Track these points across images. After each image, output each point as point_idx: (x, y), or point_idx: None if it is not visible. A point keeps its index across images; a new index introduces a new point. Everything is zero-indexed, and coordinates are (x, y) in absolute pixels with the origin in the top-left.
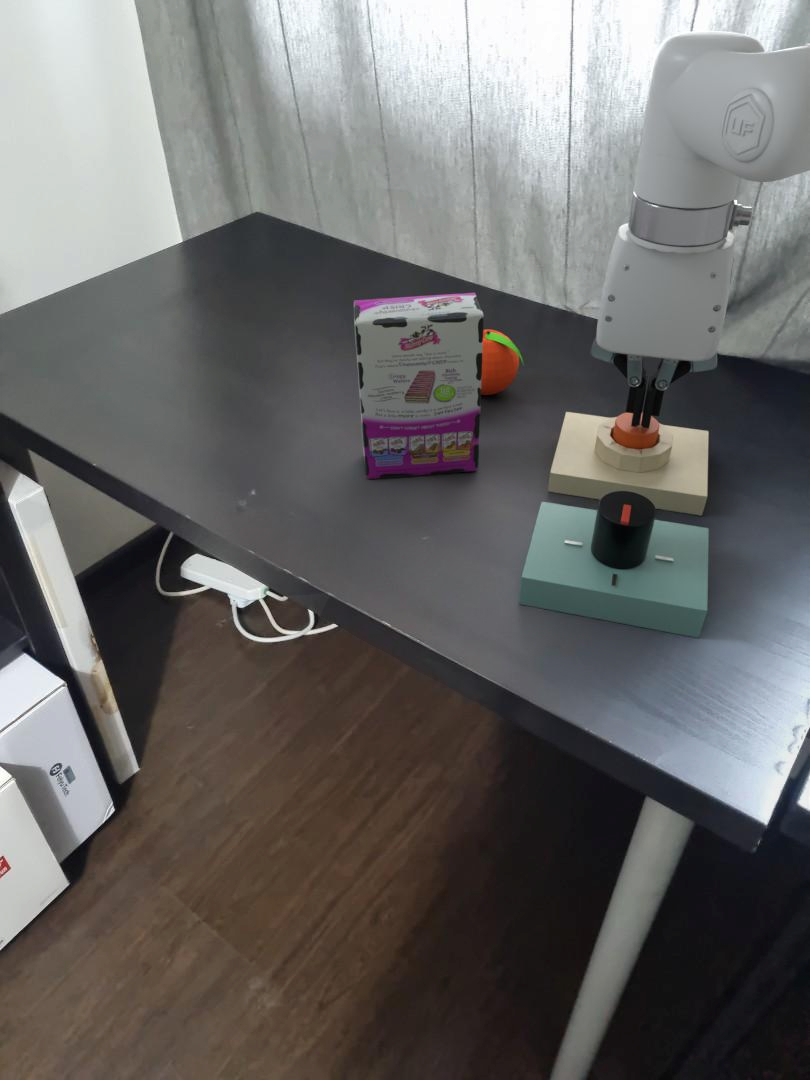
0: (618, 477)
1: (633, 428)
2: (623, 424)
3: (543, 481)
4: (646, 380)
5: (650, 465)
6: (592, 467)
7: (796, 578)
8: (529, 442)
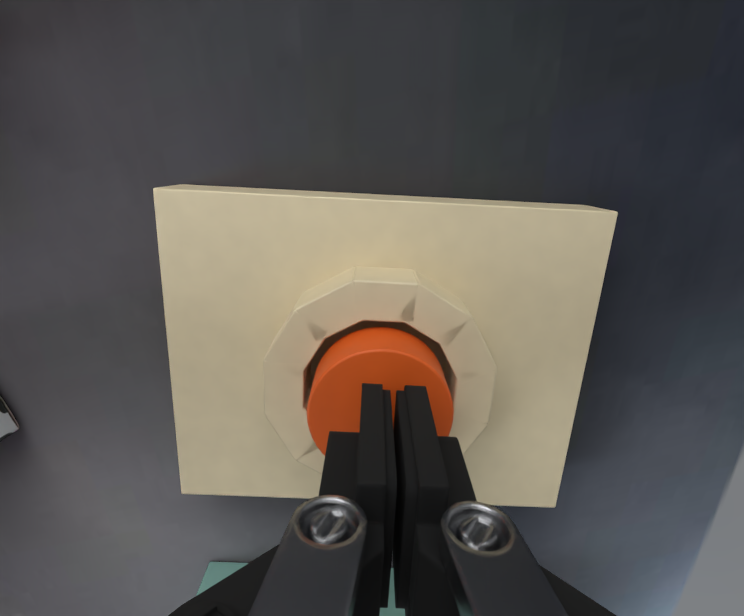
0: None
1: None
2: None
3: None
4: (389, 536)
5: None
6: (280, 455)
7: (674, 590)
8: (103, 270)
